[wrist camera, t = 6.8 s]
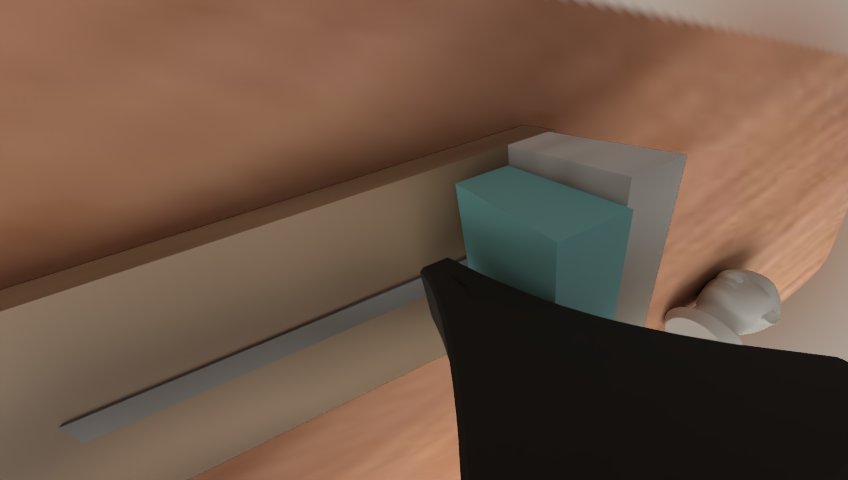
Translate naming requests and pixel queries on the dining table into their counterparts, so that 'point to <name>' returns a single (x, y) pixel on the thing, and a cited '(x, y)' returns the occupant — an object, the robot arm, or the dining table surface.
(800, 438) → the robot arm
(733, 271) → the pale two-lobed sculpture
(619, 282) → the sliding jaw
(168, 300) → the clamp board
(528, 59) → the dining table surface
